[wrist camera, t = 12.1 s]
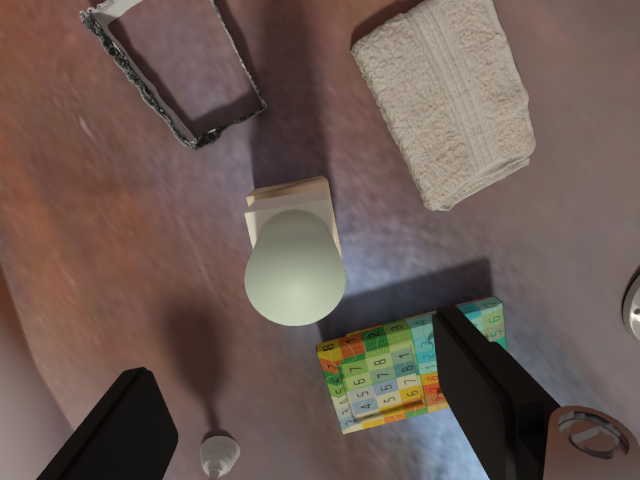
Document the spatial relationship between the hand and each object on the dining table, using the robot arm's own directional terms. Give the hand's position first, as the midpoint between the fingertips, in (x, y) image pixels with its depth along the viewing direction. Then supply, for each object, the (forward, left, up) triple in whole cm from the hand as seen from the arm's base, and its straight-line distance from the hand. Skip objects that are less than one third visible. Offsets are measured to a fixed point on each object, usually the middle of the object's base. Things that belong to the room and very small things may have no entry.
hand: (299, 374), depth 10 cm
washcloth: (-16, -8, -24) cm, 30 cm away
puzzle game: (-9, +19, -24) cm, 32 cm away
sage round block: (0, 0, -13) cm, 13 cm away
